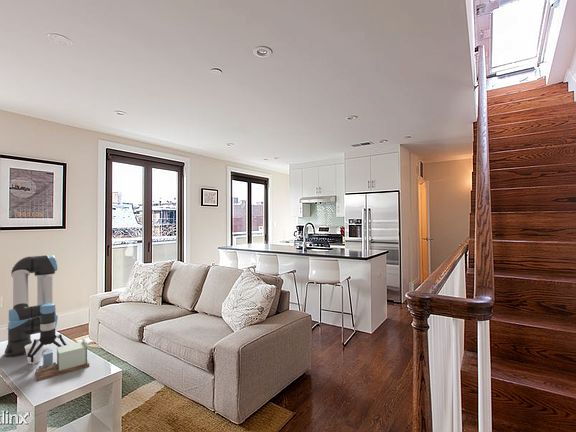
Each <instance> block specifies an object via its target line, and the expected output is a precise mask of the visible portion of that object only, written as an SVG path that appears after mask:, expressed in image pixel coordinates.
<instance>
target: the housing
mask: <svg viewBox="0 0 576 432" xmlns="http://www.w3.org/2000/svg"><path fill="white" fill-rule="evenodd" d="M87 360H88V342H87V340H86V338H85V337H84V336H82V341H78V342H75V343H70V344H66V345H65V346H64V345H61V347H58V346H57V347H56V364H57V365H58V364H59V371H61V370H65V369H68V368H72V367H76V366H79V365H83V364H87Z"/></svg>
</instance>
